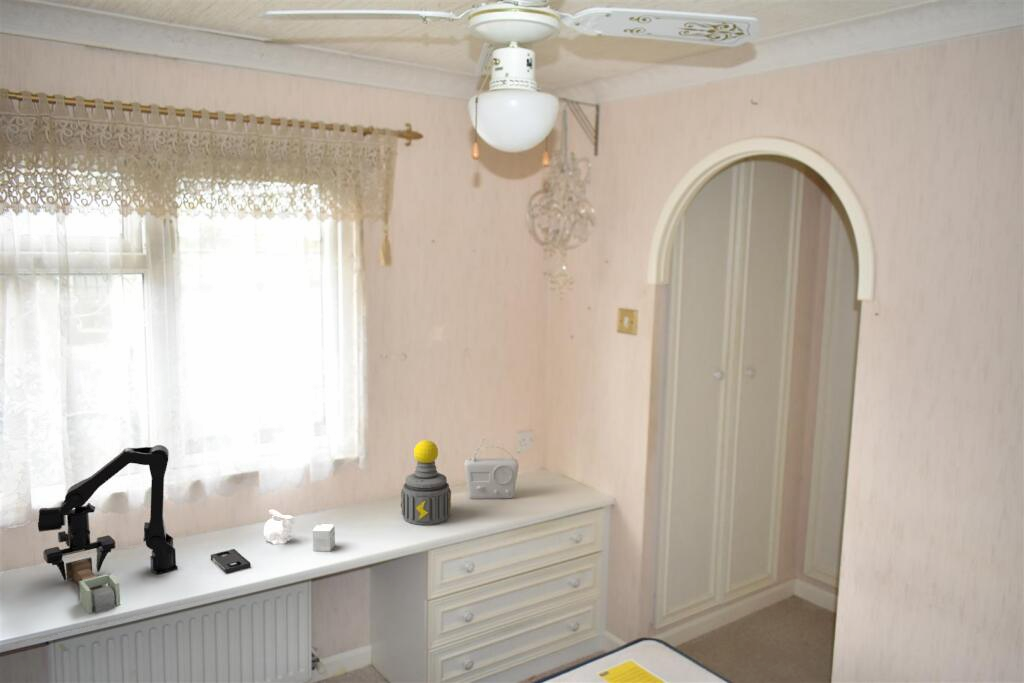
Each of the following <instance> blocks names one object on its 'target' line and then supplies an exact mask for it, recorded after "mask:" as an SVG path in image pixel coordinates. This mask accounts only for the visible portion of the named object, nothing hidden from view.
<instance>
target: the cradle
mask: <svg viewBox="0 0 1024 683" xmlns="http://www.w3.org/2000/svg"><path fill="white" fill-rule="evenodd" d="M99 585H101V588H103V587H107V586H110V587H111V588H112V590H113V591H114V597H115V607H116V606H117V607H118V606H120V605H121V593H120V582H119V580H117V579H116V577H115V576H114V575H113V574H112V573H106V574H102V575H99V576H96V577H94V578H90V579H86V580H82V581H79V584H78V586H79V599H80V600H79V601H80V604H81V606H82V607H83V608H84V610H85V612H86V613H88V614H92V613H93V609H92V602H91V590H90V589H89V588H92V587H95V586H99Z"/></svg>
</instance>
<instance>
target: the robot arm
mask: <svg viewBox="0 0 1024 683" xmlns="http://www.w3.org/2000/svg"><path fill="white" fill-rule="evenodd" d="M169 456H170V455H169V449H168V448H167V447H166V446H164V445H161V444H157V445H154V446H153V447H151V446H144V447H143V446H142V447H127V448H126V447H125V448H124V449H123V450H122V452H120V453H119V454H118V455H116V456H115V457H113V458H112V459H111V460H110V461H109V462H108V463H106V464H105V465H104V466H102V467H101V468H100V469H99V470H97V471H96V472H95V473H93V474H92V475H91V476H89V477H87V478H85V479H82V480H81V481H78V482H76V483H75V484H73V485H71V486H70V487H69V488H68V490H67V491H66V495H65V497H64V500H63V501H62V502H61V504H60V506H57V507H41V508H39V510H38V522H37V528H38V532H40V533H41V532H49V531H58V530H62V528H63V527H64V526H66V519H67V533H66V531H65V530H64V531H59V532H57V539H58V543H64V542H65V545H66V547H68V548H66V547H65V548H62V549H60V548H59V546H54V547H49V548H46V549H44V550H43V553H42V554H43V560H44V561H45V562H46V563H47V564H49V565H52V566H56V567H57V568H58V570H59V572H60V574H61V577H62V579H63V581H67V576H66V565H65V562H64V560H63V557H64V556H69V555H73V554H77V553H81V552H82V553H83V552H86V551H90V550H94V549H96V565H95V566H96V572H97V573H99V572H100V571H101V568H102V566H103V563H104V561H105V560H106V557H107V555H108V553H111V552H112V550H113V549H115V548H116V540H115V539H114V538H113V537H112V536H111V535H108V534H107V535H104V536H100V537H97V538H96V541H93V542H91V537H90V536H91V535H90V534H91V530H90V516H89V515H90V513H91V514H92V513H94V512H95V510H96V506H95V505H92V504H91V503H90V502H88V503H87V501H89V500H90V499H91V497H92V496H93V495H94V493H96V491H97V490H99V488H100V487H102V486H103V485H104V484H105V483H106V482H108V481H109V480H110V479H112V478H113V477H115V476H116V475H117V474H118V473H119V472H120V471H121V470H122V469H124V468H125V467H127V466H128V465H130V464H137V465H143V466H148V467H149V472H150V477H151V478H150V479H151V486H150V487H151V489H150V518H149V522H148V521H147V522H144V525H143V542H145V545H146V547H147V548H148V549H150V550H151V555H150V557H149V558H150V561H149V562H150V569H151V570H152V571H154V574H156V575H159V574H163V573H166V572H171V571H174V570H178V569H179V567H178V566H177V559H176V548H175V547H174V537H173V536H171V535H169V534H168V533H167V532H166V531H167V530H166V525H165V524H166V523H165V520H164V516H163V515H164V491H165V490H164V488H165V475H166V471H167V467H168V464H169ZM86 503H87V504H86ZM85 504H86V505H85Z"/></svg>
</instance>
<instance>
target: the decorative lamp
mask: <svg viewBox="0 0 1024 683" xmlns="http://www.w3.org/2000/svg"><path fill="white" fill-rule="evenodd" d="M413 455H414V458H415V460H416V462H417V463H416V466H415V470H414V473H411V474H408V475H407V476H406V477H405V482H404V484H403V485H402V488H401V491H400V508H401V515H402V518H403V520H404V521H406V522H407V523H409V524H411V525H417V526H431V525H433V526H434V525H438V524H441V523H444V522H446V521H447V520H448V519H449V517H450V515H451V514H452V513H451V510H452V491H451V488H450V484H449V483H448V481H447V476H446V475H444V474H442V473H440V472H438V470H437V466H436V462H435V461H436V459H437V458H438V456H439V450H438V447H437V444H436V443H434V442H433V441H432V440H429V439H426V440H425V439H424V440H423V439H422V440H421V441H419V442H418V443H417V444H416V445H415V446H414V450H413Z"/></svg>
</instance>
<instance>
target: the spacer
mask: <svg viewBox="0 0 1024 683" xmlns="http://www.w3.org/2000/svg"><path fill="white" fill-rule="evenodd" d="M91 602H92V611H93V612H94V613H95V614H99V613H103V612H106V611H110V610H113V609H116V604H115V597H114V591H113V590H112V588H111V587H110V586H108V585H106V587H103V588H99V589H95V590H91Z"/></svg>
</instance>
